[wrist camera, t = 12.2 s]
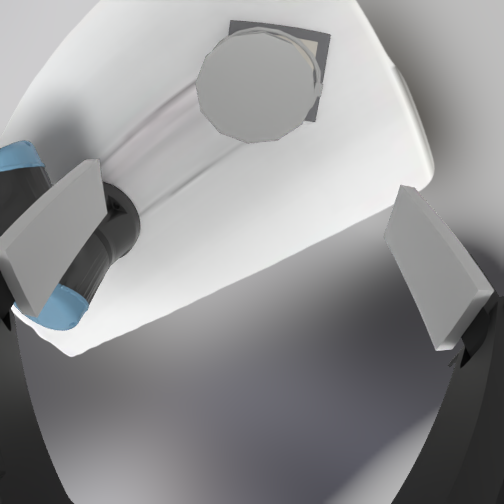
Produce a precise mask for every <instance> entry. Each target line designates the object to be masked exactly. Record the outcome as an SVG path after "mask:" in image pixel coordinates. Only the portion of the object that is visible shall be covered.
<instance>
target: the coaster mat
mask: <svg viewBox="0 0 504 504" xmlns="http://www.w3.org/2000/svg"><path fill="white" fill-rule="evenodd" d="M254 27H264V28H271V29H277V30H281V31H283V32H285V33H287V34H290V35H292V36H294V37H296V38H298V39H300V40H301V41H302V42H303V44H304V45H305V46H306V47H307V48H308V49H309V50H310V51H311V52H312V53H313V54H314V56H315V59H316V61H317V63H318V66H319V68H320V70H321V82H320V83H321V84H322V82H323V77H324V71H325V65H326V60H327V54H328V48H329V42H330V36H331V35H330V34H325V33H321V32H316V31H311V30H306V29H300V28H294V27H288V26H281V25H274V24H266V23H257V22H247V21H233V20H230V28H229V35H232V34H233V33H235V32H237V31H240V30H244V29H249V28H254ZM255 32H258V31H255ZM249 33H250V32H249ZM268 33H271V32H268ZM271 34H273V35H276V36H278V37H281V38H283V39H286V40H288V41H290V42H291V43H292V44H293V45H294V46H295V47H296V49H297V50H298V51H299V52H300V54H301V55H302V56H303V58H304V59H305V60H306V61H307V63H308V64H309V65H310V67H311V68H312V71H313V80H314V82H316V76H315V70H314V66H313V63H312V62H311V60H310V58H309V56H308V55H307V54H306V53H305V51H304V50H303V49H302V48H301V47H300V46H299V45H297V44H296V43H295V42H293V41H292V40H290V39H288V38H286V37H284V36H281V35H278V34H275V33H271ZM319 99H320V97H318V96H317V98H316V101H315V103H314V105H313V107H312V108H311V109H310V110H309V112H308V114H307V116H306V118H305V119H304V120H306V121H311V122H315V120H316V115H317V110H318V104H319Z"/></svg>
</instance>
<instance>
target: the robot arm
mask: <svg viewBox="0 0 504 504" xmlns="http://www.w3.org/2000/svg"><path fill="white" fill-rule="evenodd" d="M139 232H140V221H139V217H138V214H137V211H136V209H135V207H134V205H133V204H132V202H131V201H130V199H129V198H128V197H127V196H126V195H125V194H124V193H123V192H122V191H120V190H119V189H117V188H116V187H114V186H112V185H110V184H107V183H104V182H102V176H101V168H100V160H99V159H87V160H84V161H83V162H81V163H80V164H79V165H78V166H76V167H75V168H74V169H73V170H71V171H70V172H69V173H68V174H67V175H65V176H64V177H63V178H62V179H61V180H59V181H58V182H57V183H56V184H55V185H54V186H52V184H51V181H50V179H49V177H48V175H47V172H46V170H45V165H44V164H43V163H42V162H41V160H40V158H39V156H38V154H37V151H36V149H35V147H34V145H33V144H32V143H30V142H29V141H18V142H15V143H12V144H10V145H7V146H5V147H3V148H0V504H74V503H73V502H72V501H71V500H70V499H69V498H68V495H67V494H66V492H65V490H64V488H63V486H62V484H61V481H60V479H59V477H58V475H57V473H56V470H55V468H54V466H53V463H52V461H51V459H50V456H49V453H48V451H47V449H46V445H45V443H44V440H43V438H42V434H41V431H40V428H39V425H38V422H37V419H36V416H35V413H34V410H33V406H32V403H31V399H30V395H29V391H28V388H27V384H26V379H25V375H24V371H23V366H22V361H21V355H20V350H19V345H18V338H17V332H16V324H15V317H14V314H13V312H12V310H11V307H12V305H13V304H14V306H15V307H16V308H17V309H18V310H19V311H20V312H21V313H22V314H24V315H25V316H26V317H28V318H29V319H31V320H32V321H34V322H36V323H37V324H40V325H42V326H44V327H46V328H49V329H53V330H62V331H63V330H69V329H72V328H74V327H75V326H76V325H77V324H78V323H79V321H80V319H81V318H82V316H83V315H84V313H85V312H86V311H87V310H88V307H89V304H90V302H91V300H92V298H93V297H94V295H95V293H96V291H97V289H98V287H99V285H100V283H101V281H102V280H103V278H104V276H105V274H106V272H107V271H108V269H109V267H110V265H112V264H113V263H114V262H115V261H116V260H117V259H119V258H121V257H123V256H124V255H126V254H127V253H128V252H129V251H130V250H131V249H132V247H133V246H134V244H135V242H136V240H137V238H138V236H139ZM384 239H385V241H386V243H387V245H388V246H389V249H390V250H391V252H392V254H393V256H394V258H395V260H396V262H397V264H398V266H399V268H400V270H401V272H402V274H403V276H404V278H405V281H406V283H407V285H408V286H409V289H410V291H411V293H412V296H413V297H414V300H415V302H416V304H417V306H418V309H419V311H420V313H421V316H422V318H423V320H424V323H425V325H426V328H427V330H428V332H429V335H430V337H431V340H432V342H433V345H434V347H435V350H436V351H439V350H450V349H452V348H453V347H454V346H455V345H456V343H457V342H458V341H459V340H460V338H462V340H463V342H464V346H463V347H462V349H461V350H460V351H459V352H458V353H457V355H456V356H455V357H454V358H453V359H452V361H451V362H450V363H449V365H448V366H449V367H451V366H452V364H453V363H456V364H455V368H454V371H453V374H452V377H451V380H450V383H449V385H448V388H447V391H446V394H445V397H444V399H443V402H442V404H441V407H440V409H439V412H438V414H437V417H436V419H435V422H434V424H433V426H432V428H431V431H430V433H429V435H428V438H427V439H426V442H425V444H424V446H423V448H422V450H421V452H420V454H419V456H418V458H417V460H416V462H415V464H414V465H413V467H412V469H411V471H410V473H409V475H408V476H407V478H406V480H405V482H404V483H403V485H402V487H401V489H400V490H399V492H398V494H397V495H396V497H395V498H394V500H393V502H392V503H391V504H504V296H502V297H499V295H498V294H497V292H496V290H495V289H494V287H493V286H492V284H491V283H490V281H489V280H488V278H487V277H486V275H485V274H483V271H482V269H481V268H480V267H479V266H478V264H477V262H476V261H475V260H474V258H473V257H472V255H471V254H469V253H468V252H467V250H466V249H465V248H464V246H463V245H462V244H461V243H460V241H459V240H458V239H457V238H456V236H455V235H454V233H452V231H451V230H450V229H449V227H448V226H447V225H446V224H445V222H444V221H443V220H442V219H441V217H440V216H439V215H438V214H437V213H436V211H435V210H434V209H433V208H432V207H431V206H430V204H429V203H428V202H427V201H426V200H425V199H424V198H423V197H422V195H421V194H420V193H419V192H418V191H417V190H416V189H415V188H414V187H409V186H404V185H400V188H399V191H398V195H397V198H396V201H395V204H394V207H393V210H392V213H391V216H390V219H389V222H388V225H387V228H386V230H385V233H384Z"/></svg>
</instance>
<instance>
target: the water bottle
mask: <svg viewBox="0 0 504 504" xmlns="http://www.w3.org/2000/svg"><path fill="white" fill-rule="evenodd" d="M255 31H258V32H255ZM249 32H250V33H249ZM268 32H271V33H275V34H278V35H281V36H284V37H286V38H288V39H290V40H292V41H293V42H295V43H296V44H297V45H299V46H300V47H301V48H302V49H303V50H304V51H305V53H306V54H307V55H308V56H309V58H310V60H311V62H312V63H313V66H314V70H315V76H316V82H314V80H313V71H312V68H311V67H310V65H309V64H308V63H307V61H306V60H305V59H304V58H303V56H302V55H301V54H300V52H299V51H298V50H297V49H296V47H295V46H294V45H293V44H292V43H291V42H290V41H288V40H286V39H283V38H281V37H278V36H276V35H273V34H271V33H268ZM320 82H321V70H320V68H319V66H318V63H317V61H316V59H315V56H314V54H313V53H312V52H311V51H310V50H309V49H308V48H307V47H306V46H305V45H304V44H303V42H302V41H301V40H300V39H298V38H296V37H294V36H292V35H290V34H287V33H285V32H283V31H281V30H277V29H271V28H264V27H254V28H249V29H244V30H240V31H237V32H235V33H233V34H232V35H229V36H228V37H226V38H225V39H223V40H221V41H220V42H219V43H218V44H217V46H216V47H215V48H214V49H213V50H212V52H210V53H209V54H208V55H207V56H206V57H205V60H204V62H203V65H202V67H201V70H200V72H199V75H198V78H197V80H196V83H195V84H196V89H197V94H198V100H199V105H200V110H201V112H202V113H203V114H204V116H205V117H206V118H207V119H208V120H209V121H210V122H211V123H212V125H213V126H214V127H215V128H216V129H217V130H218V131H219V133H221V134H224V135H227V136H229V137H232V138H235V139H237V140H240V141H243V142H245V143H257V142H266V141H276V140H279V139H280V138H282V137H283V136H285V135H286V134H288V133H289V132H291V131H292V130H294V129H296V128H297V127H299V126H300V125H302V123H303V121H304V119H305V118H306V116H307V114H308V112H309V110H310V109H311V108H312V107H313V105H314V103H315V101H316V98H317V96H318V97H321V94H322V89H323V84H321V83H320Z"/></svg>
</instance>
